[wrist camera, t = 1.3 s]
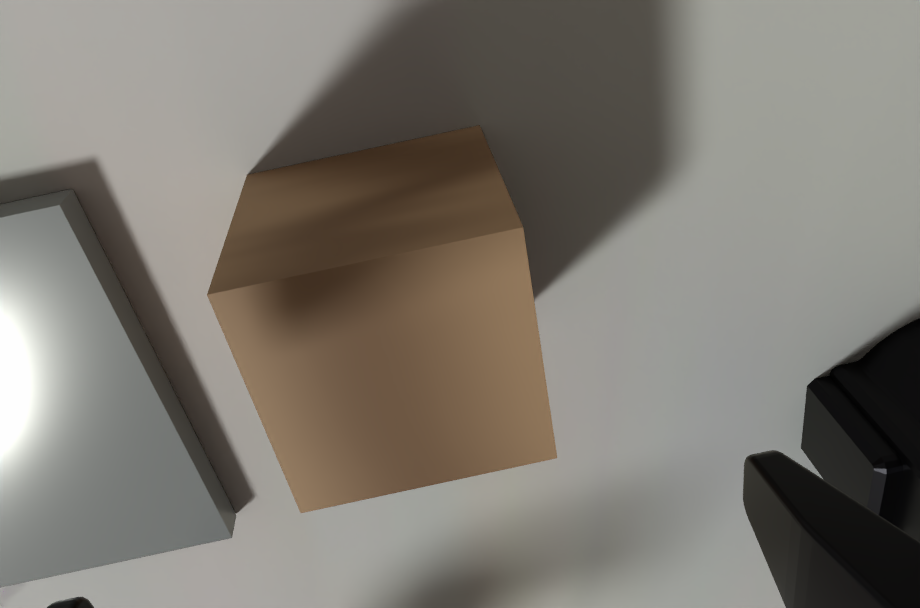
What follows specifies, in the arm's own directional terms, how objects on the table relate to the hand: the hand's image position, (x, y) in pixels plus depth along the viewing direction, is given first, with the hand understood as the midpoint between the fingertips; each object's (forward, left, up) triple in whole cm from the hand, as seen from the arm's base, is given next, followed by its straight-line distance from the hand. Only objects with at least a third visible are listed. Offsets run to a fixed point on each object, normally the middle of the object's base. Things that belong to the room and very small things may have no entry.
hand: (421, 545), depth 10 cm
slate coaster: (+11, +2, -8) cm, 14 cm away
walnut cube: (0, 0, -8) cm, 8 cm away
